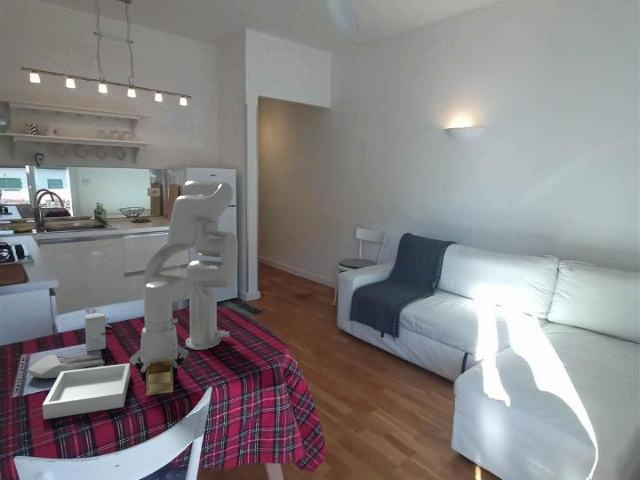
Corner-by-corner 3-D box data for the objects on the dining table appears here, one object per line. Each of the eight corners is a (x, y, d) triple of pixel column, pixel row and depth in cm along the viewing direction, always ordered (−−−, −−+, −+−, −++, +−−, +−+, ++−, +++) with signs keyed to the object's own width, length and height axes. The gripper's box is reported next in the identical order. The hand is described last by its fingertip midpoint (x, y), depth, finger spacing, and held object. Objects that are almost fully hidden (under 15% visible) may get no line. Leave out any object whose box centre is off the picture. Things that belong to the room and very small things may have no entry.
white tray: (130, 375, 118) (129, 363, 117) (123, 406, 102) (122, 393, 102) (62, 384, 112) (61, 371, 111) (43, 419, 96) (42, 404, 95)
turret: (105, 372, 123) (107, 358, 123) (29, 385, 109) (31, 369, 109) (96, 361, 130) (98, 347, 130) (24, 372, 116) (26, 357, 116)
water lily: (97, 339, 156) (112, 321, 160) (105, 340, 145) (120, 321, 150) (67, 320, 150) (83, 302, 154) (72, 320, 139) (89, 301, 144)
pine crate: (173, 372, 120) (172, 355, 119) (172, 391, 110) (172, 372, 109) (148, 376, 118) (148, 358, 117) (146, 395, 108) (145, 376, 107)
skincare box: (86, 352, 131) (84, 318, 129) (86, 346, 135) (83, 314, 133) (106, 348, 135) (105, 315, 133) (105, 343, 138) (104, 311, 136)
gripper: (189, 316, 118) (190, 370, 120) (127, 322, 111) (129, 378, 114) (190, 326, 111) (191, 382, 114) (124, 332, 104) (126, 391, 107)
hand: (160, 379), depth 114 cm, fingers closed on pine crate, 7 cm apart
